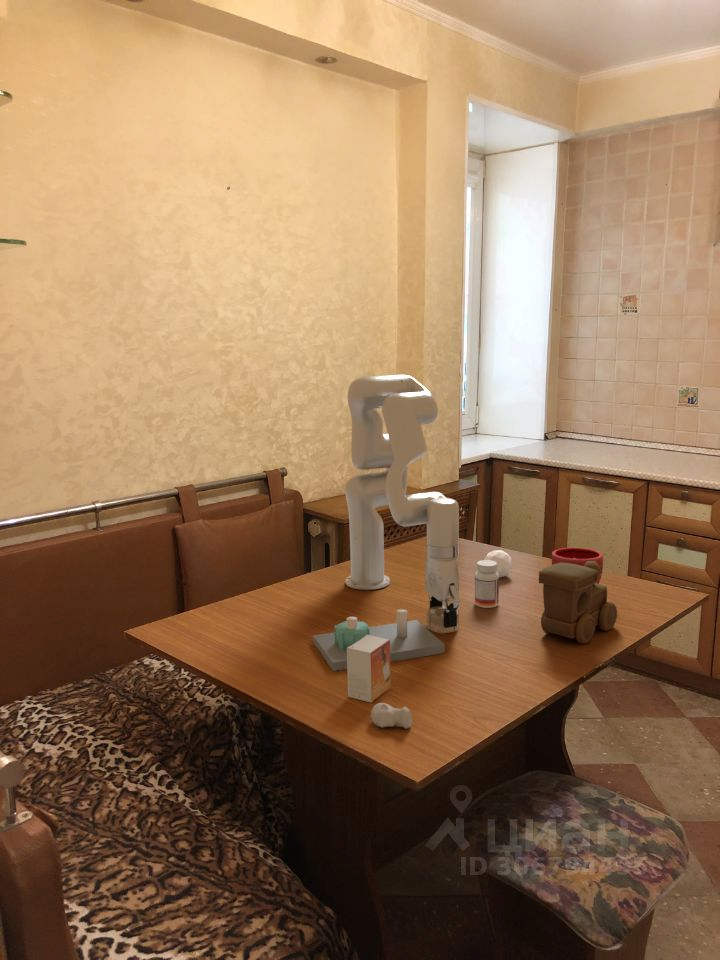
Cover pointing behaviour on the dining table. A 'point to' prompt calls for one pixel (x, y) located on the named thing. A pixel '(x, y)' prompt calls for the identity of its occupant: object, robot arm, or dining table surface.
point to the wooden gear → (439, 620)
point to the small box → (368, 668)
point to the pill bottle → (486, 584)
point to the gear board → (403, 637)
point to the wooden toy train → (575, 601)
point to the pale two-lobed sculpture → (390, 716)
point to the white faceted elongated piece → (500, 562)
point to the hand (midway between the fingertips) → (443, 620)
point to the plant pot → (578, 557)
